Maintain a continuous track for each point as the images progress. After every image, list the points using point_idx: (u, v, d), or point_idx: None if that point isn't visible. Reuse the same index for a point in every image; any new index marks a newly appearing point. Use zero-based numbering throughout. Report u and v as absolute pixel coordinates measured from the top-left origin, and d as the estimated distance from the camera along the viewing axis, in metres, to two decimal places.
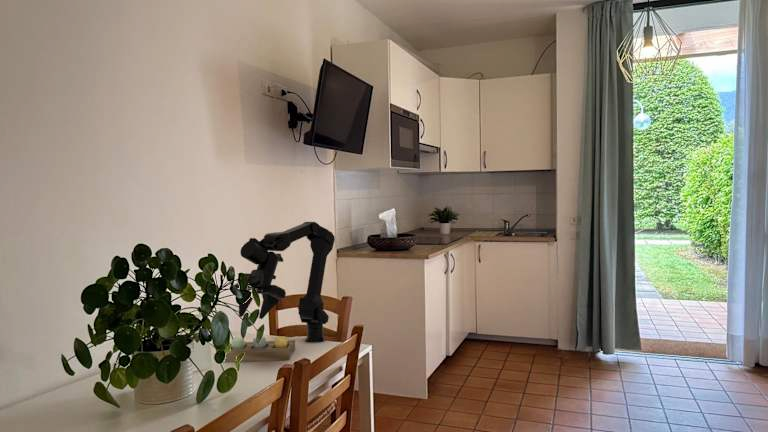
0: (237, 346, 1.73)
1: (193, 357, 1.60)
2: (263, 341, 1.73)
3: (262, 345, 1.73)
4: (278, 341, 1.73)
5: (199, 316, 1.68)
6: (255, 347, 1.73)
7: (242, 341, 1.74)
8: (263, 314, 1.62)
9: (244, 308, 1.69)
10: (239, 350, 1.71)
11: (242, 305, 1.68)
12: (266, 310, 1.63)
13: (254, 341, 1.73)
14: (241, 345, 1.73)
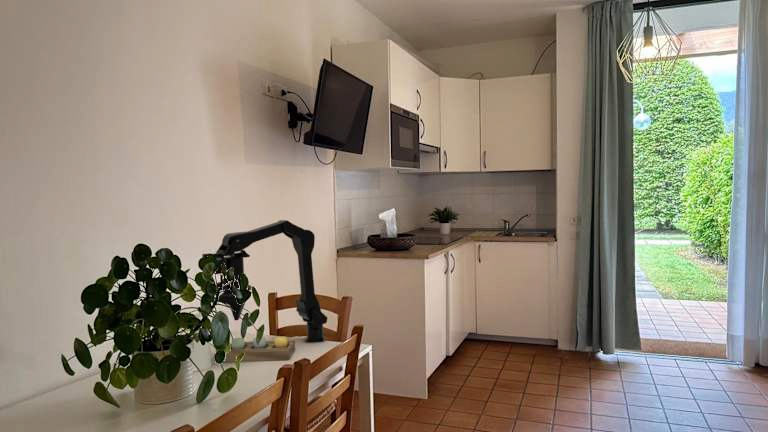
0: (237, 346, 1.73)
1: (193, 357, 1.60)
2: (263, 341, 1.73)
3: (262, 345, 1.73)
4: (278, 341, 1.73)
5: (199, 316, 1.68)
6: (255, 347, 1.73)
7: (242, 341, 1.74)
8: (236, 316, 1.73)
9: None
10: (239, 350, 1.71)
11: None
12: (236, 312, 1.72)
13: (254, 341, 1.73)
14: (241, 345, 1.73)
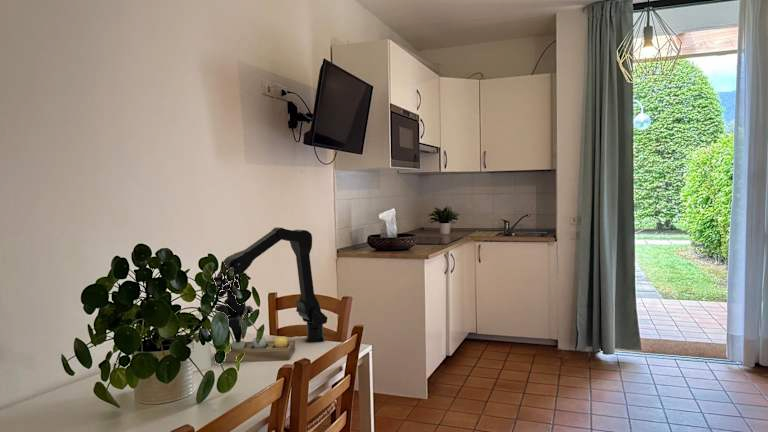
0: None
1: (193, 357, 1.60)
2: (263, 341, 1.73)
3: (262, 345, 1.73)
4: (278, 341, 1.73)
5: (199, 316, 1.68)
6: (255, 347, 1.73)
7: (242, 344, 1.74)
8: (237, 338, 1.74)
9: None
10: (239, 350, 1.71)
11: None
12: (238, 334, 1.73)
13: (254, 341, 1.73)
14: (241, 348, 1.73)
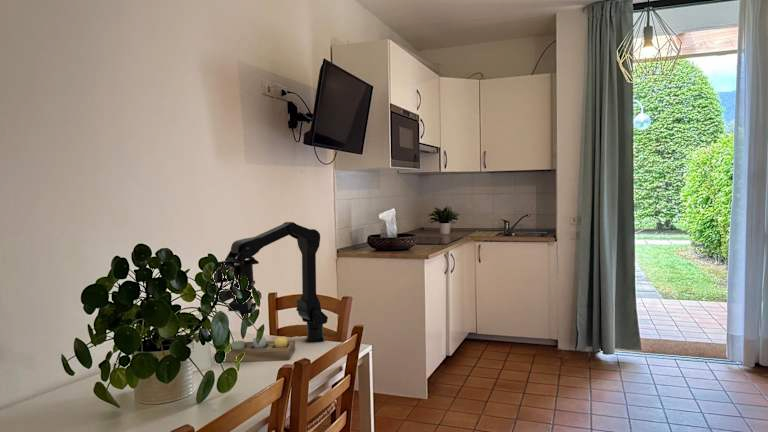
0: None
1: (193, 357, 1.60)
2: (263, 341, 1.73)
3: (262, 345, 1.73)
4: (278, 341, 1.73)
5: (199, 316, 1.68)
6: (255, 347, 1.73)
7: (242, 344, 1.74)
8: None
9: None
10: (239, 350, 1.71)
11: None
12: None
13: (254, 341, 1.73)
14: (241, 348, 1.73)
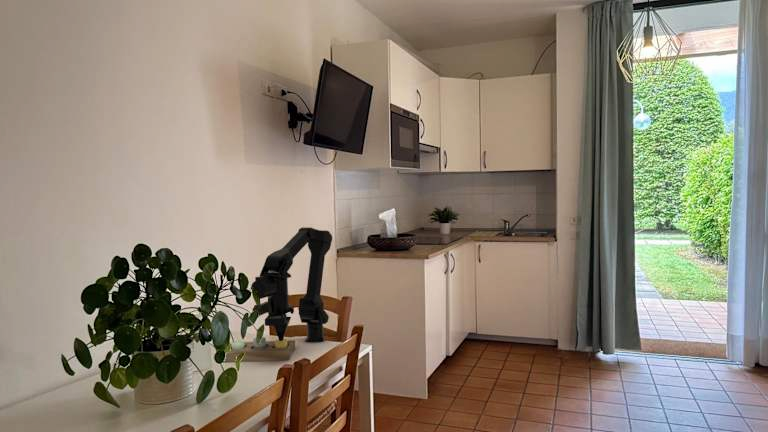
0: None
1: (193, 357, 1.60)
2: (263, 341, 1.73)
3: (262, 345, 1.73)
4: (278, 344, 1.73)
5: (199, 316, 1.68)
6: (255, 347, 1.73)
7: (242, 344, 1.74)
8: (280, 337, 1.74)
9: None
10: (239, 350, 1.71)
11: None
12: (281, 333, 1.73)
13: (254, 341, 1.73)
14: (241, 348, 1.73)
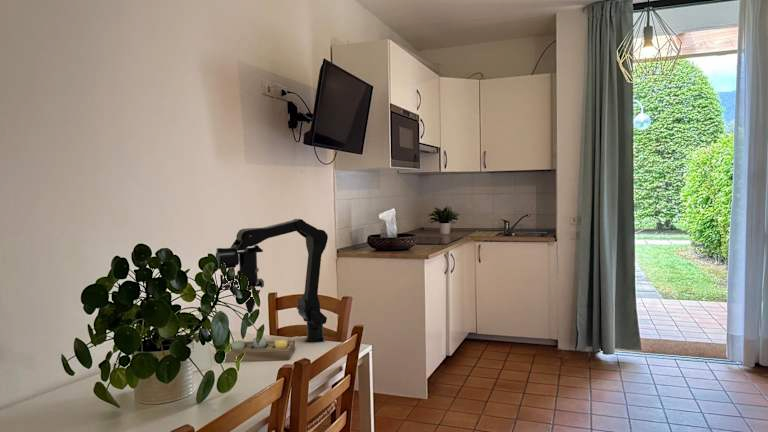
0: None
1: (193, 357, 1.60)
2: (263, 341, 1.73)
3: (262, 345, 1.73)
4: (278, 344, 1.73)
5: (199, 316, 1.68)
6: (255, 347, 1.73)
7: (242, 344, 1.74)
8: (249, 309, 1.78)
9: None
10: (239, 350, 1.71)
11: None
12: (250, 305, 1.78)
13: (254, 341, 1.73)
14: (241, 348, 1.73)
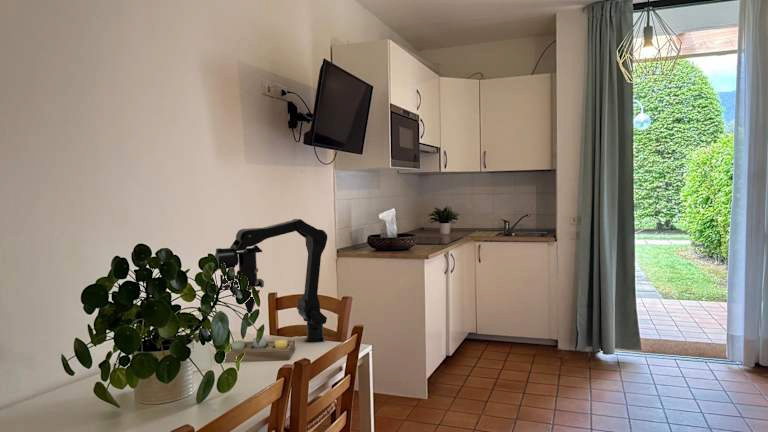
0: None
1: (193, 357, 1.60)
2: (263, 341, 1.73)
3: (262, 345, 1.73)
4: (278, 344, 1.73)
5: (199, 316, 1.68)
6: (255, 347, 1.73)
7: (242, 344, 1.74)
8: (249, 309, 1.78)
9: None
10: (239, 350, 1.71)
11: None
12: (249, 305, 1.78)
13: (254, 341, 1.73)
14: (241, 348, 1.73)
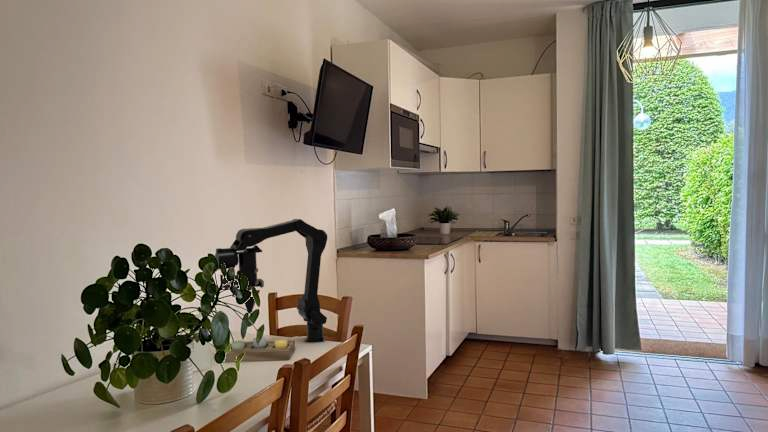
0: None
1: (193, 357, 1.60)
2: (263, 341, 1.73)
3: (262, 345, 1.73)
4: (278, 344, 1.73)
5: (199, 316, 1.68)
6: (255, 347, 1.73)
7: (242, 344, 1.74)
8: (249, 309, 1.78)
9: None
10: (239, 350, 1.71)
11: None
12: (249, 305, 1.78)
13: (254, 341, 1.73)
14: (241, 348, 1.73)
